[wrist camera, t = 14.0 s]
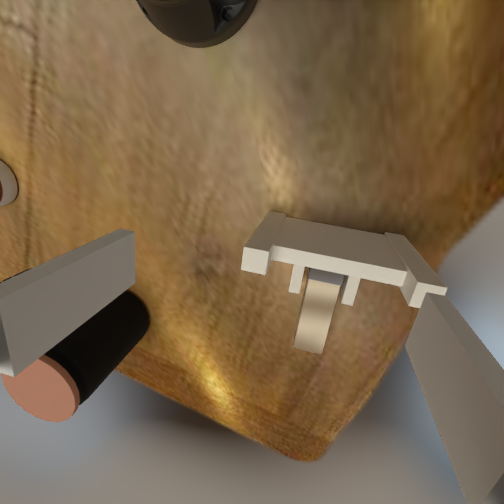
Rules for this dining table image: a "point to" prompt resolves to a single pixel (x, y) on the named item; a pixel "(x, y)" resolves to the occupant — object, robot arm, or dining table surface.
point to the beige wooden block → (317, 309)
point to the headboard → (341, 256)
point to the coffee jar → (79, 361)
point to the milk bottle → (7, 185)
